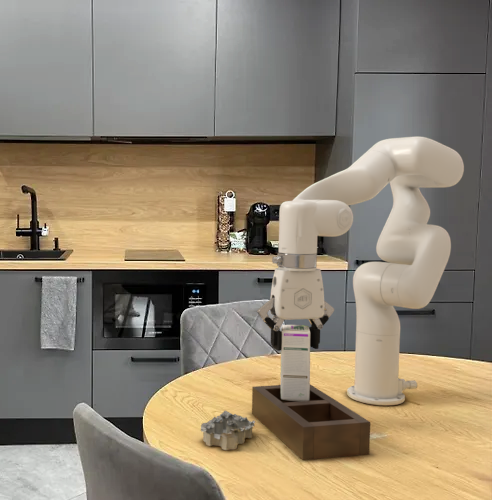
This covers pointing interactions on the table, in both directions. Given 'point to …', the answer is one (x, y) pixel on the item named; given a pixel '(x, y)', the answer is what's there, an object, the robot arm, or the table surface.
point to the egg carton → (227, 430)
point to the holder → (312, 423)
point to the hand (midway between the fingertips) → (295, 347)
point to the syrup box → (295, 363)
